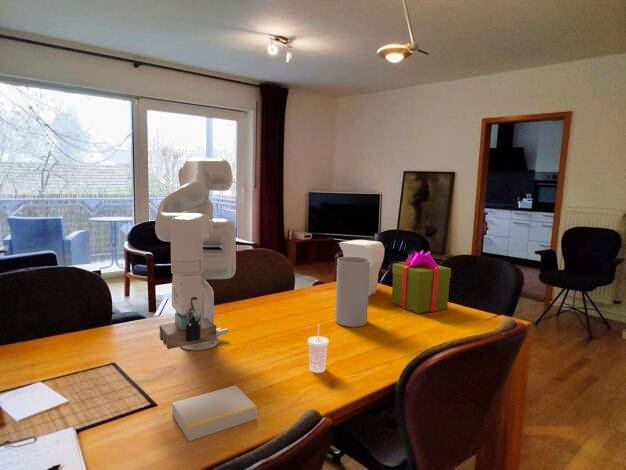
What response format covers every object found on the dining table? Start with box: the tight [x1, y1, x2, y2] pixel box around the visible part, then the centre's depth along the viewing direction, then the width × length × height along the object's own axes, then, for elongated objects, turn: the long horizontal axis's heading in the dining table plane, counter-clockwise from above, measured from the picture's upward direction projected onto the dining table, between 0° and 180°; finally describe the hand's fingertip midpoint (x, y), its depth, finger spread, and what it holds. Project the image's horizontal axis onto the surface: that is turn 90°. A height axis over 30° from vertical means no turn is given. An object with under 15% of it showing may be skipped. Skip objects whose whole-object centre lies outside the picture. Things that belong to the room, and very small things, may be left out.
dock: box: [171, 385, 258, 442], centre depth 99 cm, size 16×12×3 cm
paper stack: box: [337, 239, 386, 297], centre depth 209 cm, size 21×27×26 cm
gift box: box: [391, 249, 452, 314], centre depth 189 cm, size 21×21×25 cm
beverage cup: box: [307, 322, 330, 374], centre depth 125 cm, size 6×6×14 cm
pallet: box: [159, 318, 217, 350], centre depth 107 cm, size 12×8×4 cm, turn 124°
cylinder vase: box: [334, 256, 370, 328], centre depth 166 cm, size 12×12×25 cm
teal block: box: [174, 310, 201, 330], centre depth 107 cm, size 5×5×3 cm
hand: (187, 334), depth 107 cm, fingers closed on pallet, 7 cm apart
